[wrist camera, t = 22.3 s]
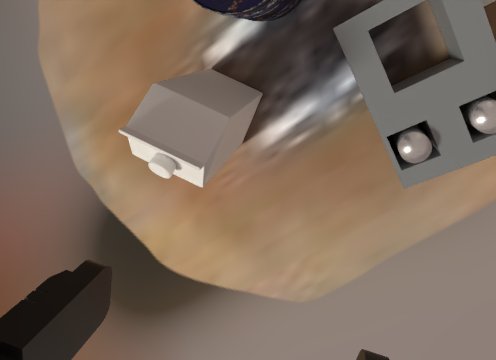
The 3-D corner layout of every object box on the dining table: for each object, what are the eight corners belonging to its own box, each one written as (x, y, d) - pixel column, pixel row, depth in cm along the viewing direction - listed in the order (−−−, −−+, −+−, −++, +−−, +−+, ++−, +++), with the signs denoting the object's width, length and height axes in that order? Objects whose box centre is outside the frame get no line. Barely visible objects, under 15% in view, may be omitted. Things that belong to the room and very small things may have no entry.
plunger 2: (453, 101, 40) (469, 110, 35) (483, 88, 39) (504, 95, 34) (463, 126, 41) (480, 138, 36) (493, 114, 40) (515, 125, 35)
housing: (333, 29, 41) (332, 28, 36) (450, -36, 37) (465, -45, 32) (397, 173, 45) (403, 188, 40) (509, 130, 41) (530, 142, 36)
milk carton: (210, 68, 46) (129, 88, 28) (263, 92, 45) (215, 128, 28) (191, 121, 48) (108, 169, 31) (241, 145, 48) (185, 207, 31)
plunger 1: (388, 129, 43) (394, 141, 38) (415, 117, 42) (425, 128, 37) (398, 152, 44) (405, 167, 39) (425, 141, 42) (436, 155, 37)
